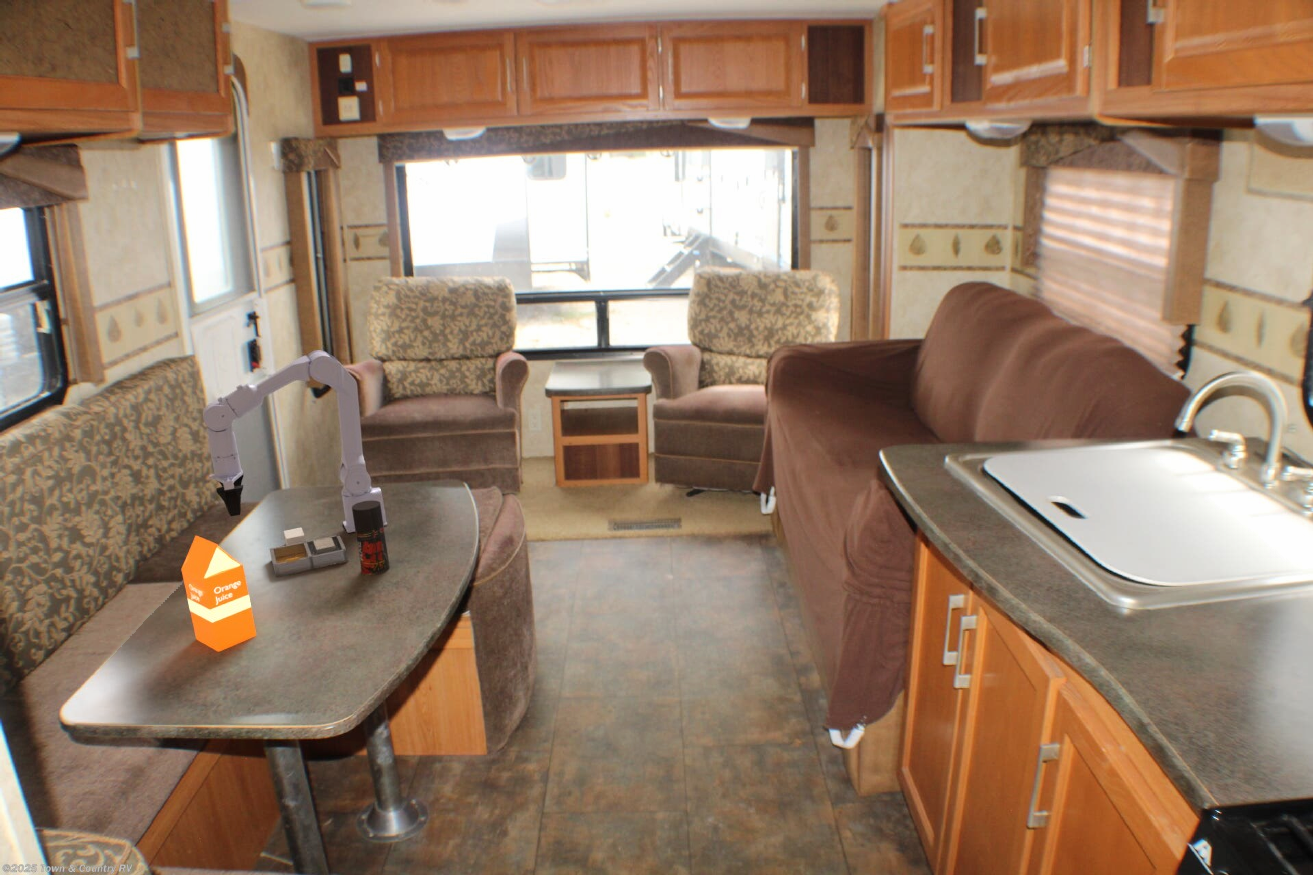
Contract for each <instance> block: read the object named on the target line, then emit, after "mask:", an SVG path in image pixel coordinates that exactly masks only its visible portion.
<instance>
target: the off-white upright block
mask: <svg viewBox="0 0 1313 875" xmlns="http://www.w3.org/2000/svg"><path fill="white" fill-rule="evenodd" d="M283 535H284V540H285V546H286V545H291V544H296V543H301V542H305V541H306V537H305V533H304V531H303V528H302V527H297V528H291V529H287V530H283Z"/></svg>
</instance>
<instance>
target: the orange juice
mask: <svg viewBox="0 0 1313 875" xmlns="http://www.w3.org/2000/svg"><path fill="white" fill-rule="evenodd" d="M180 571H181V573H182V578H183V582H184V587H185V591H186V592H185V593H186V598H187V602H188V608H189V612H190V615H191V621H192V625H193V629H194V635H195V640H197V641H199V642H200V643H202V644H204V645H206V646H208V647H209V648H211V649H213V650H215V651H216V652H221V651H223V650H226V649H228V648H231V647H233V646H236V645H238V644H241V643H242V642H245V641H247V640H249V639H252V638H254V637H257V632H256V626H255V625H256V624H255V621H254V615H253V610H252V604H251V600H250V599H251V598H250V597H251V596H250V594H249V589H248V585H247V584H248V583H247V579H246V575H245V573H246V572H245V567H244V565H243V564H241V563H240V562H239V561H238V560H236V559H235V558H234V557H233V556H231V554H229V553H228V552H226V551H225V550H224V549H222V548H221V547H220V546H219V544H218V543H215V542H213V541H211V540H208V539H205V538H203V537H200V536H198V535H195V536H194V539H193V541H192V542H191V545H190V548H189V551H188V553H187V555H186V558H185V560H184V562H183V564H182V567H181V569H180Z"/></svg>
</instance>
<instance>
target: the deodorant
mask: <svg viewBox="0 0 1313 875" xmlns="http://www.w3.org/2000/svg"><path fill="white" fill-rule="evenodd" d="M352 512H353V519H354V525H355V536H356V545H357V549H358V556H359V562H360V569H361V573H362V574H363V575H365V574H367V575H366V576H373V575H374V576H375V575H380V574H383V573H385V572H387V571H388V570H389V569H390V560H389V555H388V554H389V553H388V547H387V546H388V545H387V540H386V534H385V525H383V518H382V511H381V504H380V502H379V501H374V500H370V501H363V502H359V503H356V504H354V505H353V506H352Z"/></svg>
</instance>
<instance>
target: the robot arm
mask: <svg viewBox="0 0 1313 875" xmlns="http://www.w3.org/2000/svg"><path fill="white" fill-rule="evenodd" d="M310 377H312V379H313V380H315V381H316V382H319V383H320V384H324V385H328V386H329V387H330V388H332V389H333V390H335V391H336V399H337V400H336V402H337V411H338V412H337V413H338V423H339V431H340V433H339V434H340V444H341V445H340V446H341V457H340V458H341V459H340V460H341V463H340V464H341V465H340V467H339V470H338V478H339V480H340V481H341V483H342V484H343V487H342V489H341V490H340V492H341V493H340V494H341V498H342V506H343V511H344V512H343V513H344V518H345V520H343V521H342V524H343V526H344V528H345V530H346V532H347V533H354V532H355V525H354V519H353V512H352V506H353V505H354V504H356V503H359V502H363V501H370V500H374V501H379V502H380V504H381V511H382V518H383V525H384V526H387V525H388V522H387V517H386V510H385V504H384V498H383V493H382V490H381V487H378V486H377V487H372V478H371V476H370V474H369V473H368V472H367V467H366V461H365V457H364V453H363V452H364V450H363V439H362V428H361V415H360V414H361V413H360V403H359V394H358V393H359V391H358V383H357V380H356V379H355V378H354V377H353V376H352V375H351V373H350V372H349V371H348V370H347V369H346V368H345V367H344V365H343V364H342V363H341V362H340V361H339V360H338V359H337V358H336V357H335V356H334V355H332V354H329V353H328V352H326V351H324V350H319V349H317V350H313V351H311V352H310V353H308V355H306V354H305V355H303V356H300V357H299V358H297V359H295V360H294V361H292V362H290V363H289V364H287V365H286V366H284V367H282V368H281V369H279V370H278V371H276V372H275V373H273V374H271V375H270V376H269V377H267V378H265V379H264V380H262V381H260V382H259V383H257V384H251V383H246V384H244V385H243V384H238V385H237V386H236V390H234V391H232V392H230V393H229V394H227V395H226V396H223V397H222V396H219V397H217V401H213V402H210V403H208V404H207V405H206V406H205V407H204V409H203V412H202V414H203V415H202V419H203V422H204V424H205V426H206V433H207V435H208V436H207V442H208V446H209V447H208V448H209V451H210V452H209V453H210V458H211V461H212V467H213V473H212V474H209V480H216V481H217V482H218V483H219V485H221V487H216V489H215V491H216V493H217V495H218V496H219V497H220V498H221V500H222V501H223V503H224V506H225V507H226V509H227V512H228V515H229V516H230V517H237V516H240V515H241V509H242V508H241V507H242V506H241V505H242V504H241V502H242V493H243V489H244V485H243V484H242V482H243V479H244V471H243V469H242V465H241V459H240V455H239V451H238V450H239V449H238V443H237V440H236V434H235V432H234V430H233V421H235V420H239V419H240V418H243V417H244V416H246V415H247V414H249V413H251V412H253V411H254V410H256V409H257V408H259V407H261V406H263V403H264V398H266V396H269V395H271V394H272V393H275V392H277V391H279V390H280V389H282V388H284V387H285V386H287V385H289V384H291V383H293V382H296V381H302V382H310V381H311V378H310ZM355 533H356V532H355Z"/></svg>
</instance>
